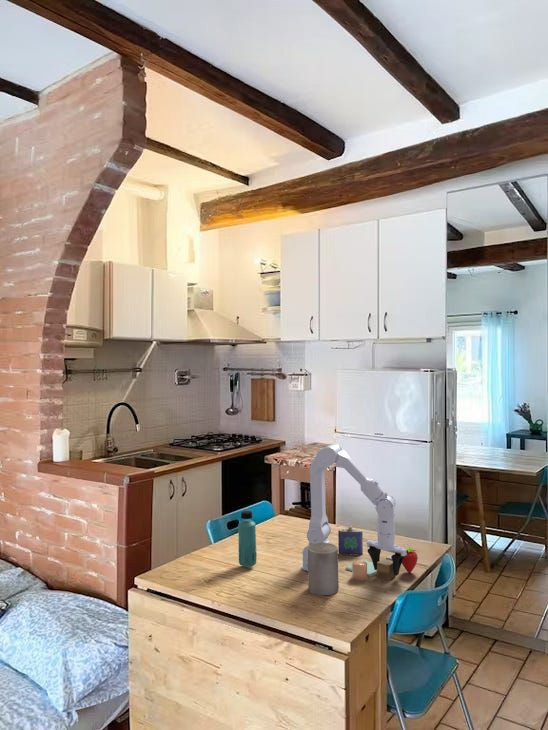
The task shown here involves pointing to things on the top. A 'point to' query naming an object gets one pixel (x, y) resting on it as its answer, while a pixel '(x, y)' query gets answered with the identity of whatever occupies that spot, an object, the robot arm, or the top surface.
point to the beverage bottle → (247, 540)
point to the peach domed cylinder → (359, 570)
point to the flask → (350, 541)
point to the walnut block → (385, 569)
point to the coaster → (369, 568)
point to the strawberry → (410, 560)
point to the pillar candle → (323, 569)
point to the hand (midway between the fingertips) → (386, 572)
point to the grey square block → (389, 557)
